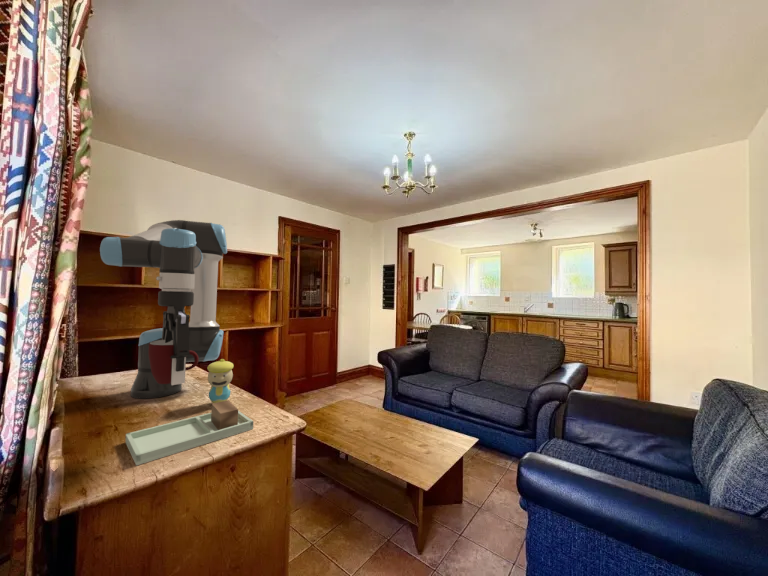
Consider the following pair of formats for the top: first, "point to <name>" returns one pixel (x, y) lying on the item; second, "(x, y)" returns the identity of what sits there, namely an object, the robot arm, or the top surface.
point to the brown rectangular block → (224, 414)
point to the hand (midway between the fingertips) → (173, 379)
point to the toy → (220, 380)
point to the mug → (164, 360)
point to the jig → (179, 436)
